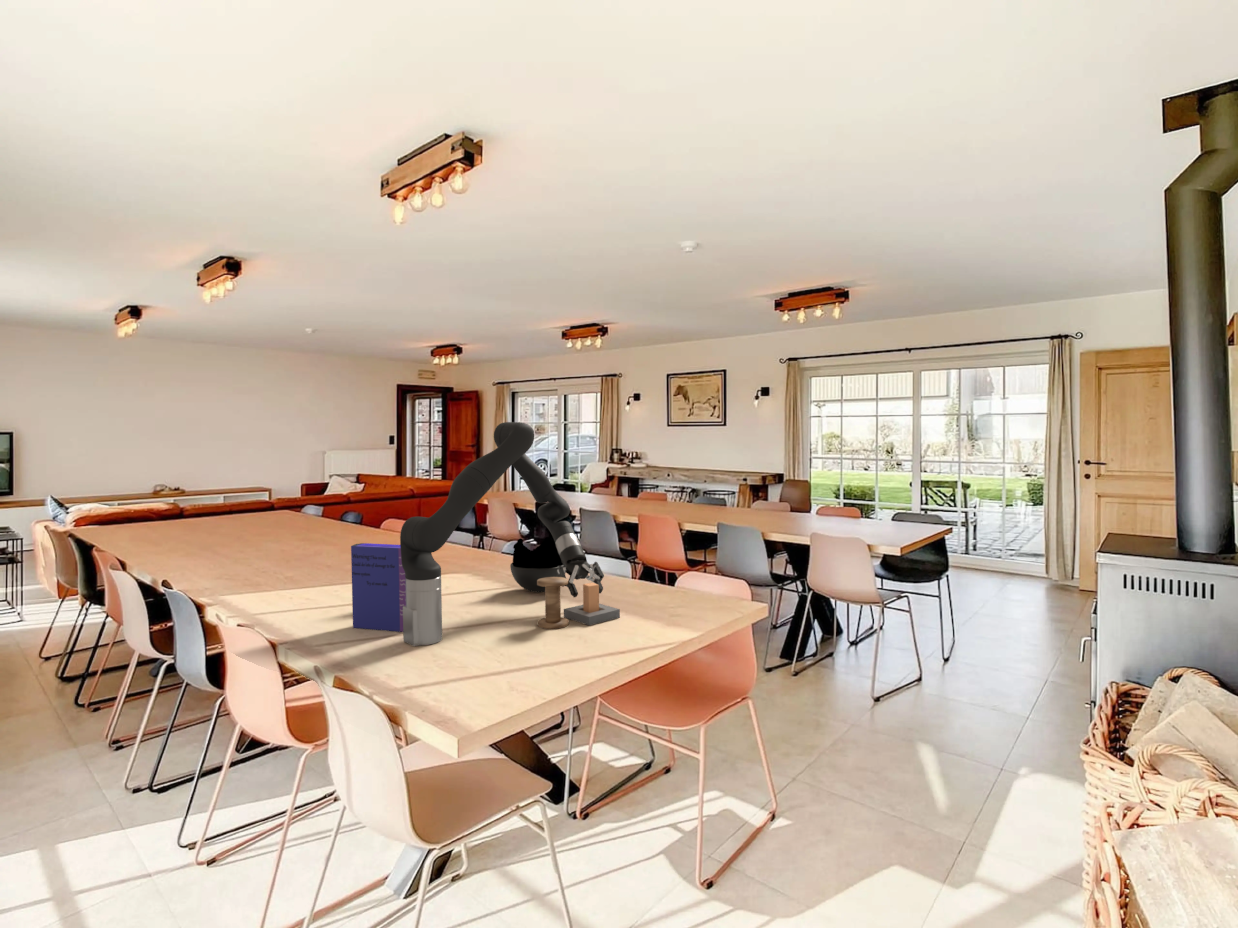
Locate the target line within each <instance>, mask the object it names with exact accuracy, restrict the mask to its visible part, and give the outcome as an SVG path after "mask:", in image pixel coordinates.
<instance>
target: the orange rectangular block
mask: <svg viewBox="0 0 1238 928" xmlns="http://www.w3.org/2000/svg"><path fill="white" fill-rule="evenodd" d="M582 596H583V597H582V598H583V599H582V603H583V604H582V605H583V611H586V612H589V613H592V612H596V611H599V604H600V594H599V585H598V584H595V583H593V582H590V583H583V584H582Z"/></svg>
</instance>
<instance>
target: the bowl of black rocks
mask: <svg viewBox="0 0 1238 928" xmlns="http://www.w3.org/2000/svg"><path fill="white" fill-rule="evenodd" d="M512 548H513V549H514V550H513V554H512V555H513V556H512V562H511V563H510V567H509V569H510V573H511V574H512V577H513V579H514V581H515V582H516V583H517V584H518V585H519V587H521V588H523V589H524V590H526V591H528V592H533V593H545V587H542V586H538V585H537V580H538V579H541V578H545V577H558V575H557V570H558V568H559V566H562V567H563V568H565V567H564V565H563V563H562V560H561V558H560V556H559V553H558V551H557V547H556V544H555V541H552V540H551V539H550V538H549V537H545V538H544V540H543V541H542V542H541V544H539V545H538V546H537V547H535V548H534V549H531V550H530V549H529V548H528V547H527V546H526V545H524V539H522V538H519V539H517V542H516V543H514V545H513V547H512ZM565 574H567V573H566V572H565Z"/></svg>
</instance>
